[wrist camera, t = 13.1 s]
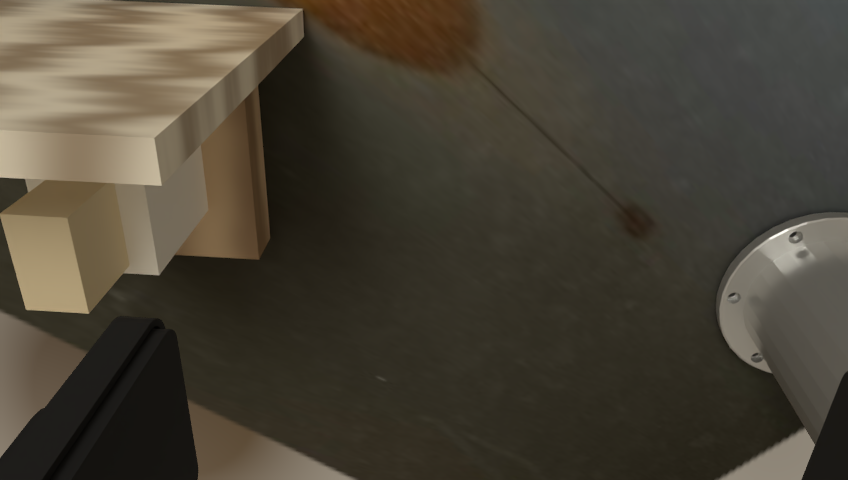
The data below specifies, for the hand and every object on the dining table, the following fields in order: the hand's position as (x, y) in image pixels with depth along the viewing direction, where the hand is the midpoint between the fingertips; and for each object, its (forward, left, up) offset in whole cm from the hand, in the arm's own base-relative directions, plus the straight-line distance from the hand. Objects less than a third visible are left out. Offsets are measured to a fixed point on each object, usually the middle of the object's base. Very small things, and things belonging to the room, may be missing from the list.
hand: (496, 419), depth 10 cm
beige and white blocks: (+19, +8, -31) cm, 37 cm away
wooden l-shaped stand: (+19, +8, -34) cm, 40 cm away
